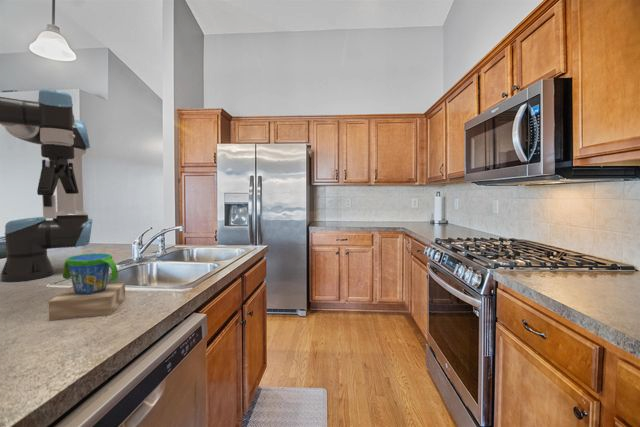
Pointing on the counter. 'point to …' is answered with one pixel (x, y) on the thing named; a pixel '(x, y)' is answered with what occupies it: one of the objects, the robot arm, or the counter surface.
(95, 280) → the snack cup
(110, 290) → the maple block
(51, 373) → the counter surface
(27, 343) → the counter surface
